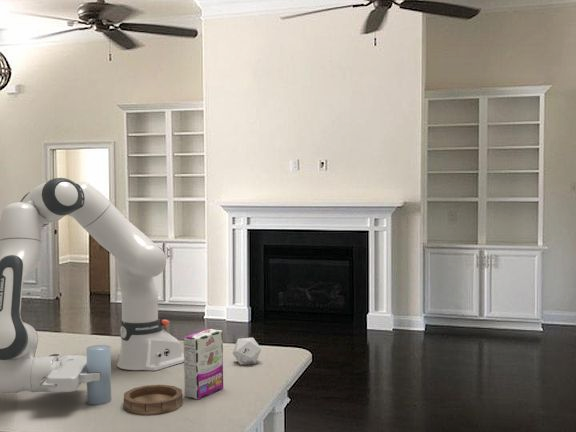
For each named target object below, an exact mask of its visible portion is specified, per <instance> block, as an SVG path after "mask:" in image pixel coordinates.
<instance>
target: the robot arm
mask: <svg viewBox="0 0 576 432" xmlns="http://www.w3.org/2000/svg"><path fill="white" fill-rule="evenodd" d="M66 216H69V217H71V218H73V219H74V220H75V221H76V222H77V223H78V224H79V225H80V226H81V227H82V229H84V230H85V231H86V232H87V233H88V234H89V235H90V236H91V237H92V238H93V239H94V241H96V242H97V243H98V244H99V246H101V247H103V248H104V249H105V250H106V252H109V253H110V254H111V255H112V256H113V257H114V261H115V264H116V267H117V268H116V269H117V274H118V275H117V276H118V282H119V287H120V288H119V289H120V294H121V320H120V339H121V342H120V351H119V356H118V359H117V363H116V367H118V368H120V369H123V370H129V371H159V370H162V369H166V368H168V367H171V366H175V365H177V364H181V363H184V352H182V346H181V342H180V341H179V340H178V339H177V338H176V337H174V336H173V335H171V334H170V333H169V332H167V331H166V330H165V329H164V327H165V328H166V327H169V325H170V321H169V320H168V319H161V318H159V295H158V292H157V289H156V286H155V281H154V278H155V277H157V276H159V275H161V274H162V273H163V272H164V269H165V268H166V265H167V257H166V255H165V251H163V250H162V249H161V247H159V246H158V245H157V244H156V243H155V242H154V241H152V239H150V238H149V237H148V236H147V235H146V234H145V233H143V232H142V230H140V229H139V228H138V227H137V226H135V225H134V224H133V223H132V222H130V221H129V220H128V219H127V218H126V216H124V215H123V213H122V212H121V211H119V209H118V208H117V207H116V206H115V205H114V204H113V203H112V202H111V201H110V200H109V199H108V198H107V197H106V196H105V195H104V194H103V193H102V192H100V191H99V190H98V189H97V188H95V187H94V186H93V185H91V184H90V183H88V182H86V181H78V182H75V181H72V180H71V179H69V178H66V177H64V178H63V177H56V178H52V179H49V180H47V181H46V182H43V183H41V184H39V185H37V186H35V188H34V189H32V190H31V191H29V192H27V193H26V194H25V195H24V196H23V197H22V198H21V200H20V201H19V202H18V201H17V202H12V203H10V204H7V205H6V206H5V207H4V208H3V209H2V212H1V215H0V394H18V393H21V392H31V393H45V392H46V393H48V392H53V393H54V392H55V393H56V392H57V393H58V392H59V393H62V392H63V393H65V392H66V393H68V392H69V393H70V392H75V391H77V390H78V389H79V387H80V386H81V384H87V382H91V381H98V380H99V379H100V372H93V373H90V374H87V355H76V354H75V355H72V354H71V355H69V354H68V355H66V354H65V355H62V354H61V353H53V354H50V355H46V356H35V355H36V352H37V347H38V342H39V334H38V332H37V329H35V328H34V327H33V326H32V325H31V324H29V323H26V322H25V321H23V320H22V316H21V308H22V295H23V287H24V286H23V285H24V283H25V280H26V278H27V277H28V276H29V275H30V274H31V273H33V272H35V270H36V269H37V268H38V266H39V265H40V260H41V255H42V231H43V227H44V226H47V225H49V224H52V223H56V222H58V221H60V220H62V219H63V218H64V217H66ZM163 326H164V327H163Z"/></svg>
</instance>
